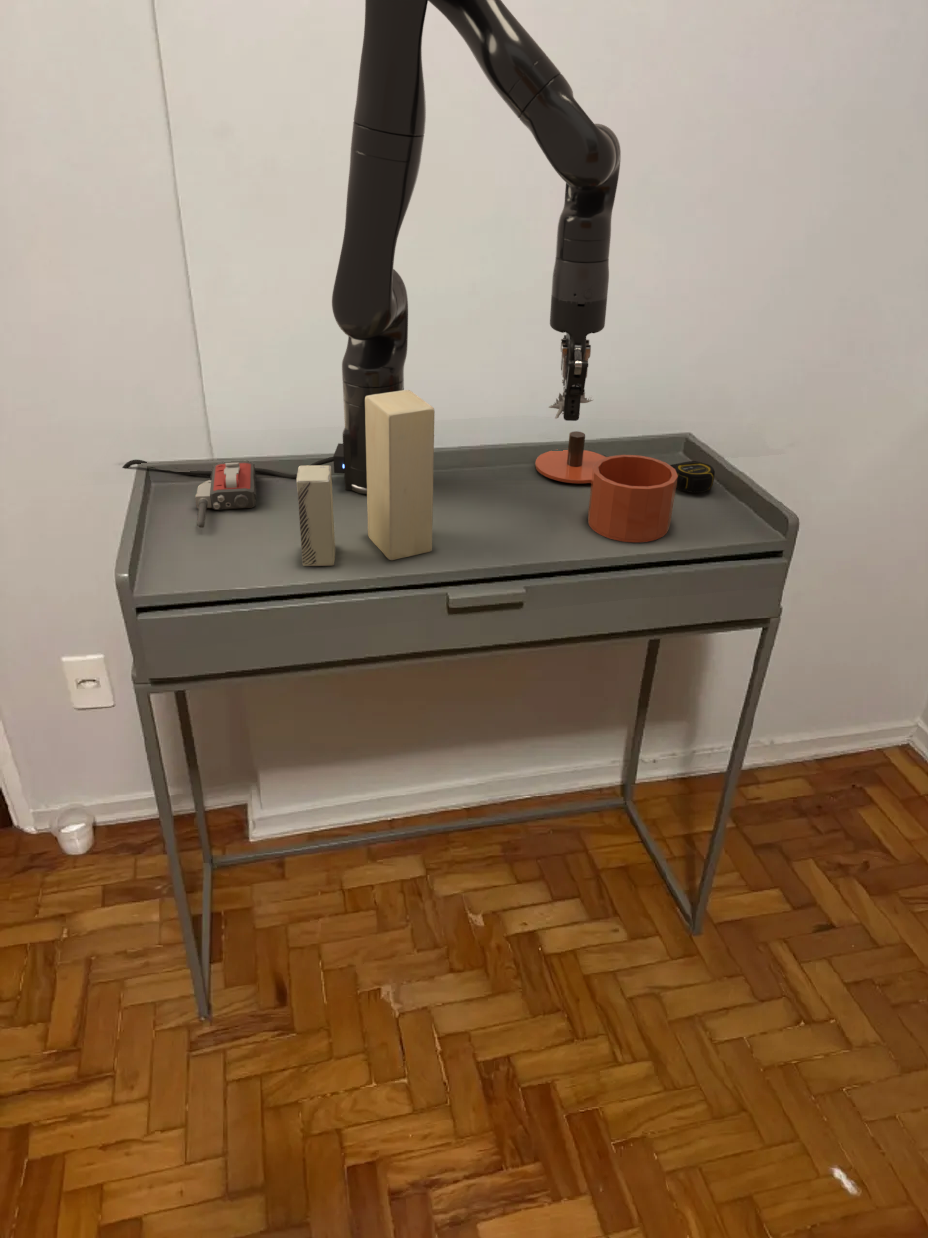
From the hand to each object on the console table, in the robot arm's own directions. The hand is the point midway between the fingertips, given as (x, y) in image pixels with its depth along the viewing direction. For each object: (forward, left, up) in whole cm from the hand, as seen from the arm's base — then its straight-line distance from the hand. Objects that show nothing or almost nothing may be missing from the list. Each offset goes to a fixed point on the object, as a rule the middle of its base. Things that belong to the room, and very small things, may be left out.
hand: (570, 415), depth 134 cm
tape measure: (+21, +10, -15) cm, 28 cm away
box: (-34, -18, -15) cm, 42 cm away
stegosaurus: (0, 0, 0) cm, 0 cm away
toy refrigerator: (-23, -13, -15) cm, 31 cm away
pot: (+10, -4, -15) cm, 18 cm away
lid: (+3, +15, -14) cm, 21 cm away
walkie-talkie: (-51, -2, -15) cm, 53 cm away
